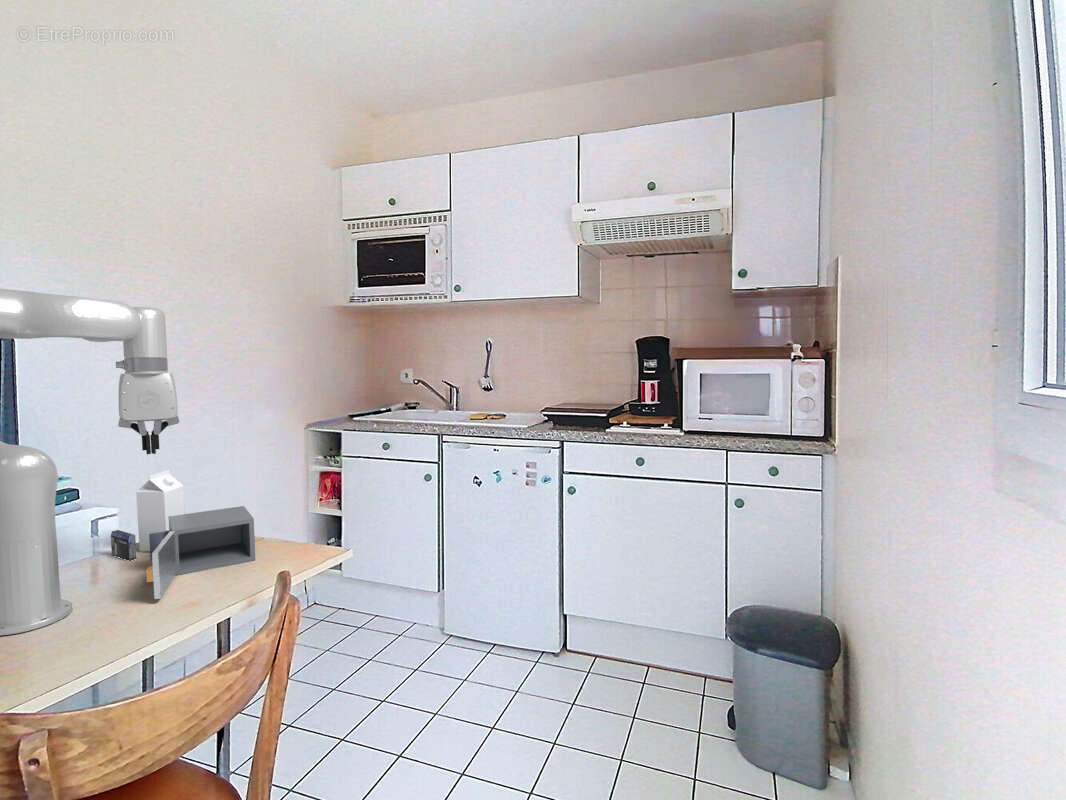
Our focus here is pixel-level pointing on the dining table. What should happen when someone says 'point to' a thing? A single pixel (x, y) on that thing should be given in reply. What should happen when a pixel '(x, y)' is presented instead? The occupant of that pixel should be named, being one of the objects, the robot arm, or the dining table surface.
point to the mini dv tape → (123, 545)
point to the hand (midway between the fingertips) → (151, 453)
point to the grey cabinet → (210, 539)
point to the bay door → (163, 565)
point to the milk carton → (158, 505)
